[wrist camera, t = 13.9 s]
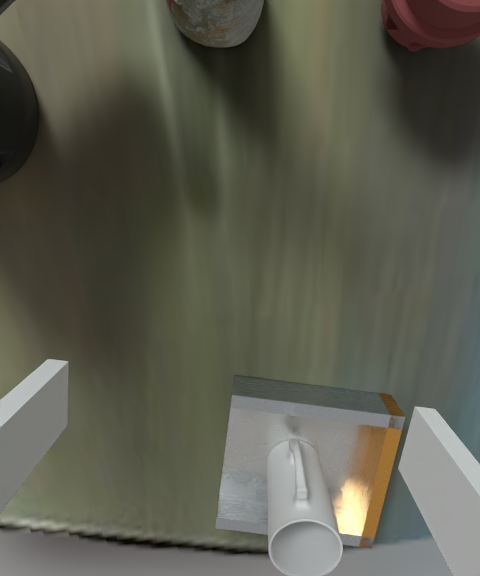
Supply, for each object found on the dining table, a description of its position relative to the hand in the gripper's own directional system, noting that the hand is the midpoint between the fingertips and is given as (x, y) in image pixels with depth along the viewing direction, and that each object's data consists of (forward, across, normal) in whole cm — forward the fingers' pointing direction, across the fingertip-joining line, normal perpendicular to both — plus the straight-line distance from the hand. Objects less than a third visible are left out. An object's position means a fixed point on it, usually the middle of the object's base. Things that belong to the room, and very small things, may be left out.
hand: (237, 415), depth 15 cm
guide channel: (+28, +9, -21) cm, 37 cm away
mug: (+28, +8, -21) cm, 36 cm away
